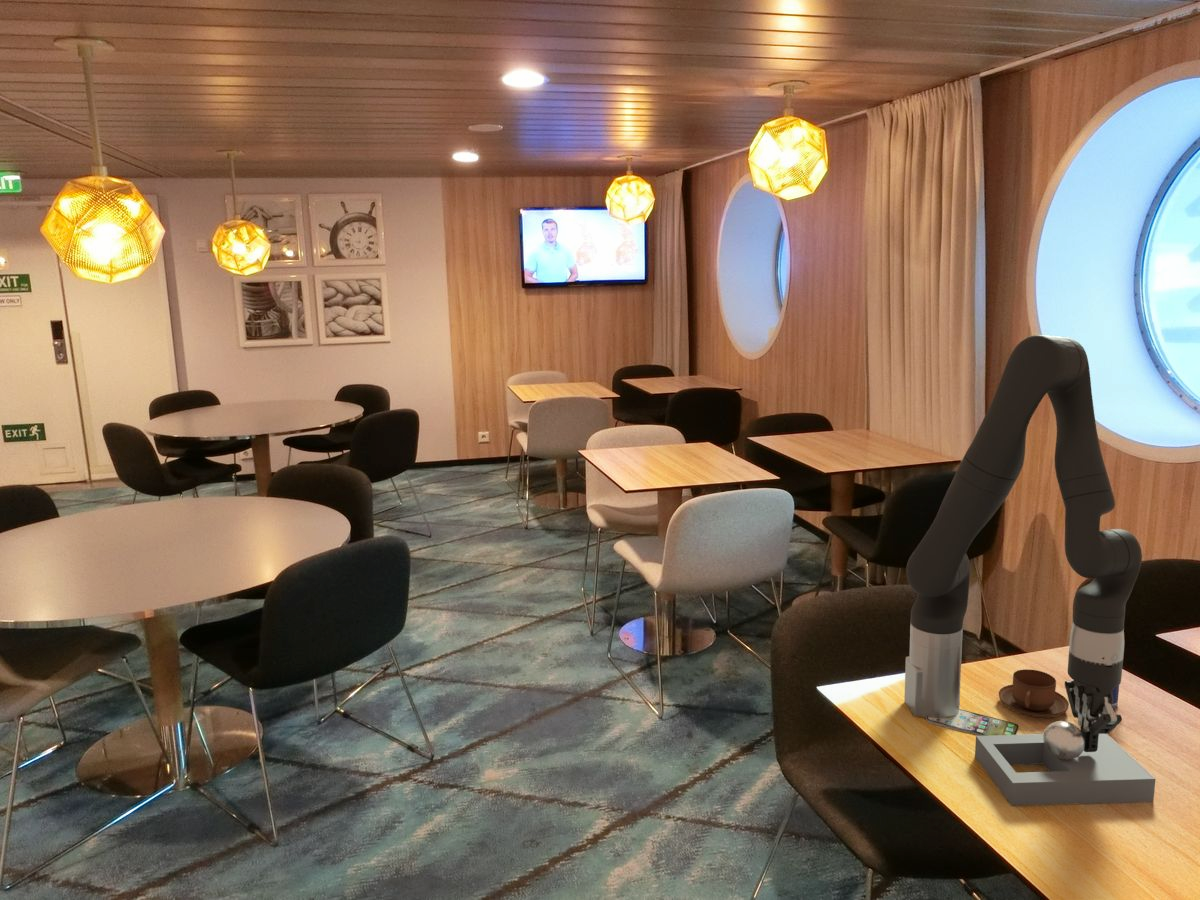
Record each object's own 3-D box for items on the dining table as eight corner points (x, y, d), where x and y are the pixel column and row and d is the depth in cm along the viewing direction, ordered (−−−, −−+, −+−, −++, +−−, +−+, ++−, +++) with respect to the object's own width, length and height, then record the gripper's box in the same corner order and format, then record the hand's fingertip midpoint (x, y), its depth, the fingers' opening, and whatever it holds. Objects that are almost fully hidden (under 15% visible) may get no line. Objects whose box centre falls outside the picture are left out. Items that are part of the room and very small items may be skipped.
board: (1103, 753, 148) (1105, 731, 147) (1153, 801, 134) (1155, 778, 133) (974, 756, 148) (975, 735, 148) (1011, 805, 135) (1012, 782, 134)
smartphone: (1012, 743, 152) (925, 719, 160) (1012, 748, 152) (924, 725, 160) (1019, 724, 158) (934, 702, 166) (1019, 729, 158) (934, 707, 166)
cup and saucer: (1074, 727, 157) (1076, 696, 155) (1002, 719, 160) (1003, 689, 159) (1061, 696, 168) (1063, 667, 167) (994, 689, 172) (996, 661, 170)
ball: (1094, 762, 137) (1057, 770, 138) (1074, 741, 143) (1038, 749, 143) (1090, 729, 136) (1053, 738, 136) (1069, 710, 142) (1034, 718, 142)
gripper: (1051, 635, 143) (1044, 729, 147) (1095, 670, 130) (1087, 773, 134) (1096, 633, 143) (1088, 728, 147) (1145, 669, 130) (1135, 771, 134)
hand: (1088, 749), depth 140 cm, fingers closed
